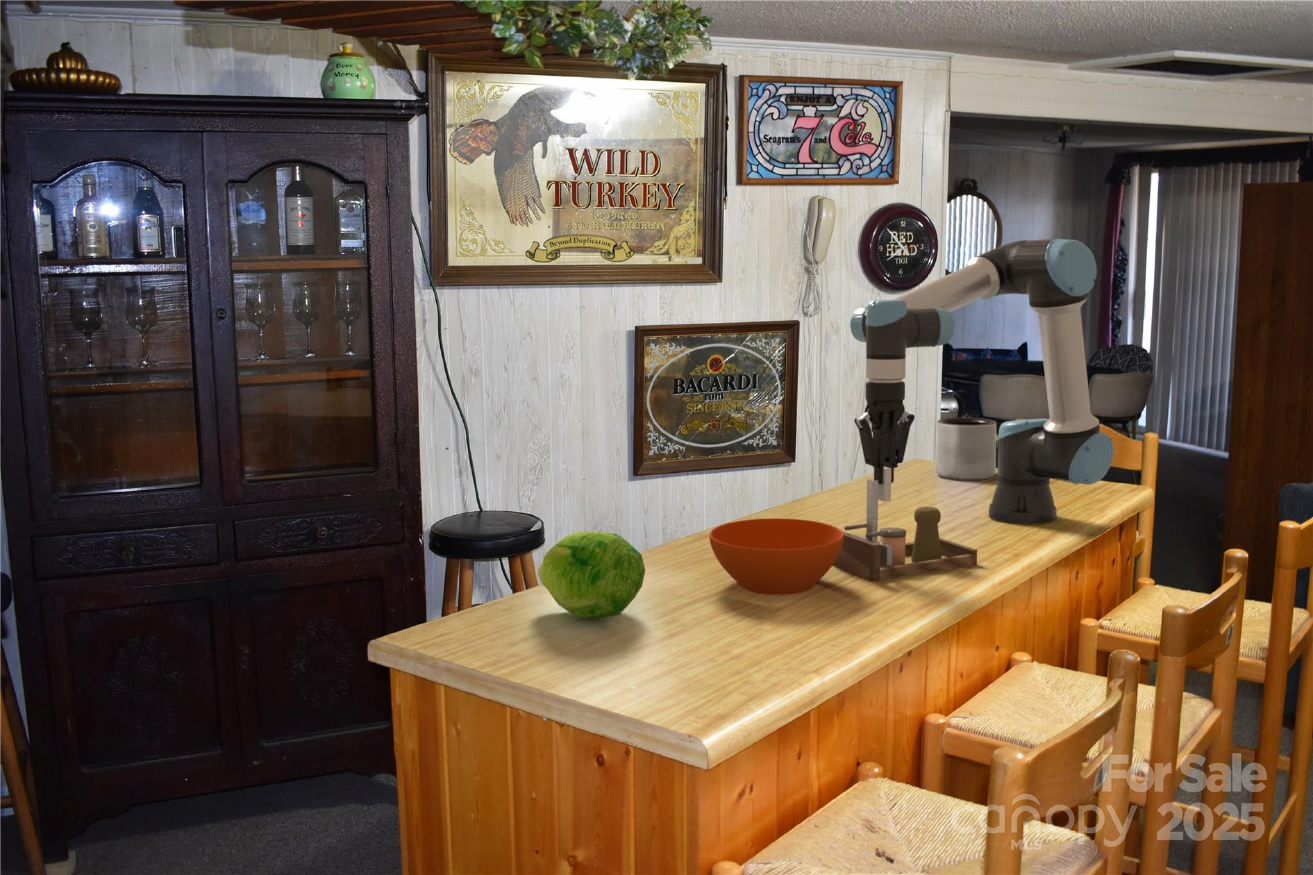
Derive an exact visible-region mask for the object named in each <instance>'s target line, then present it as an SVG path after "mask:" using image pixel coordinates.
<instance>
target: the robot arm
mask: <svg viewBox="0 0 1313 875" xmlns="http://www.w3.org/2000/svg"><path fill="white" fill-rule="evenodd" d="M1097 269H1098V268H1097V262H1096V259H1095V257H1094V254H1093V253H1092V251H1091V249H1090V248H1089V247H1088V246H1087V245H1085V244H1084V242H1082V241H1079V240H1077V239H1066V238H1048V239H1047V238H1046V239H1033V240H1032V239H1031V240H1030V239H1029V240H1026V239H1025V240H1024V239H1023V240H1017V241H1016V240H1015V241H1013V242H1009V243H1005V244H1003V245H1000V246H997V247H995V248H993V249H990V250H987V251H986V252H984V253H982V254H980V255H977V256H975V257H973V258H971V259H970V260H968V262H967V263H966V265H965V266H964V267H961V268H960V269H957V270H955V271H954V272H951V273H949V274H947V275H944V276H941V277H940V278H938V279H935V280H933V281H931V282H929V283H926V284H924V285H922V286H921V287H917V288H915V289H913V290H911V291H908V292H906V293H905V294H902V295H900V296H898V297H895V298H893V299H873V300H870V301H869V302H868V304H867V306H861V307H859V308H857V309H856V310H854V312H853V313H852V314H851V317H850V322H849V327H850V332H851V334H852V336H853V338H854V339H855V340H856V341H857V342H861V343H865V346H866V347H865V352H866V353H865V354H866V355H865V357H866V358H865V378H866V379H867V381H866V382H865V389H864V390H865V394H864V395H865V400H866V406H865V408H864V413H863V414H862V415H861V416H860V417H858V416H857V417H855V418H854V419H853V422H854V423H855V425H856V428H857V429H858V434H859V438H860V443H861V444H860V445H861V449H862V454H863V459H864V463H865V464H866V465H869V466H871V467H873V479H874V480H878V501H881V502H883V503H885V502H886V503H887V502H891V501H892V484H894V480H895V478H894V477H895V469H896V468H898V466H899V464H902V463H903V462H904V459H905V458H904V457H905V454H906V450H907V449H906V448H907V446H908V445H907V444H908V439H909V435H910V430H911V426H912V424H913V422H914V421H915V418H916V417H915V415H914V414H912V413H909V412H907V411H906V407H905V405H904V400H905V398H906V383H905V381H904V380H903V379H905V378H906V362H907V361H906V359H907V358H906V357H907V349H909V348H910V349H911V348H927V347H930V348H931V347H932V348H935V347H940V346H943V345H946V344H948V343H949V342H950V341H951V339H952V338H953V335H954V332H955V321H954V317H953V316H952V314H951V312H953V311H956V310H957V309H959V308H962V307H965V306H967V305H969V304H971V303H973V302H975V301H977V300H979V299H981V300H990V299H992V298H994V297H997V296H1001V295H1028V301H1029V302H1028V304H1029V307H1030V309H1032V310H1033V311H1035V312H1036V313H1037V316H1038V326H1039V334H1040V335H1039V336H1040V343H1041V353H1042V360H1043V370H1044V377H1045V378H1044V379H1045V380H1044V381H1045V388H1046V396H1047V407H1048V414H1049V418H1030V419H1017V420H1016V419H1015V420H1009V421H1008V420H1007V421H1004V422H1002V423H1001V424H1000V426H999V429H998V430H999V431H998V438H997V480H996V481H997V482H996V488H995V491H994V493H993V496H992V500H991V503H989V506H988V517H989V518H990V519H992V520H995V521H999V522H1002V523H1009V524H1018V525H1041V524H1042V525H1043V524H1049V523H1053V522H1055V521H1057V517H1058V515H1057V512H1058V510H1057V507H1056V506H1055V501H1054V496H1053V493H1052V490H1051V484H1050V482H1051V481H1050V480H1051V479H1052V480H1056V481H1061V482H1066V483H1071V484H1073V485H1079V484H1081V485H1085V486H1086V485H1087V486H1088V485H1093V484H1094V485H1095V484H1096V483H1098V482H1099V481H1100V480H1102V479H1103V478H1104V477H1105V476H1106V474H1107V473H1108V471H1109V470H1110V468H1111V465H1112V463H1113V458H1114V454H1115V453H1114V452H1115V447H1114V443H1113V440H1112V438H1111V437H1110V436H1109V435H1108V434H1106V433H1104V432H1101V426H1100V420H1099V418H1098V417H1096V416H1094V415H1093V414H1092V411H1091V402H1090V401H1091V400H1090V392H1089V382H1088V381H1089V380H1088V371H1087V364H1086V363H1087V362H1086V354H1085V353H1086V352H1085V341H1084V333H1083V324H1082V323H1083V322H1082V314H1081V308H1082V306H1083V304H1084V303H1086V302H1087V300H1088V297H1087V295H1088V293H1089V292H1090V291H1091V290H1092V289H1093V287H1094V285H1095V280H1097V272H1098V270H1097ZM870 425H871V426H870Z"/></svg>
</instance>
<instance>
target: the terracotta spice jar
mask: <svg viewBox="0 0 1313 875" xmlns="http://www.w3.org/2000/svg"><path fill="white" fill-rule="evenodd" d="M878 530H879V531H878V532H881V531H889V535H883V536H879V542H882V543H885V544H888V545H891V546H892V566H897V565H903V564H906V555H905V543H906V540H907V538H906V536H907V530H906V529H905V528H903V527H893V526H892V527H883V528H880V529H878Z"/></svg>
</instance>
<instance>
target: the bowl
mask: <svg viewBox="0 0 1313 875" xmlns="http://www.w3.org/2000/svg"><path fill="white" fill-rule="evenodd" d="M842 531H843V530H841V528H838V527H837V526H835V525H831V524H828V523H824V522H821V521H815V520H807V519H799V518H798V519H797V518H754V519H744V520H737V521H732V522H727V523H724V524H721V525H719V526H716V527H714V528H713V529H711V531H710V533H709V537H708V538H709V544H710V547H711V550H712V551H713V554H714V556H715V558H716V559H717V561H718V563H719V564H720V565H721V567H722V568H723V569H724V570H725V572H726V573H727V574H728V575H729V576H730V577H731V578H732V579H733V580H734V581H735V582H736V583H737V584H738V585H739V587H741V588H742V589H743V590H745V591H748V592H751V593H754V594H755V593H756V594H760V595H767V596H769V595H772V596H785V595H795V594H800V593H803V592H808V591H810V590H811V589H812V588H814V586H815V585H816V584H817V583H818V582H819V581H820V580H821V579H822V578H824V576H825V575H826V574H827V573H828V572H829V570H830V569H832V567H833V566H834V565H833V564H834V563H835V561H836V560H837V558H838V556H839V554H840V552H841V549H842V546H843V542H844V534H843V532H844V531H843V532H842Z"/></svg>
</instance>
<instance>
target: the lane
mask: <svg viewBox="0 0 1313 875" xmlns="http://www.w3.org/2000/svg"><path fill="white" fill-rule="evenodd" d="M866 527H867V523H861V524H851V525H846V526H844V527H843V528H844V530H841V531H842V532H843V534H844V542H843V546H842V549H841V552H840V554H839V556H838V558H837V560H836V561H835V563H834V564H833V566H834V567H837V568H839V569H841V570H844V571H847V572H849V573H852V574H854V575H857V576H859V577H862V578H864V579H867V580H869V581H871V582H878V581H885V580H891V579H896V578H903V577H908V576H915V575H921V574H927V573H935V572H938V571H945V570H950V569H951V570H952V569H958V568H964V567H969V566H976V565H978V549H976V548H972V547H970V546H966V545H963V544H961V543H957V542H953V541H950V540H947V539H945V538H941V537H939V540H940V548H941V556H944V557H942V558H941V559H935V560H928V561H922V562H916V563H914V562H911V563H905V564H903V565H897V566H890V567H884V568H880V544H877V543H874V542H872V541H869V540H866V539H863V538H860V537H857V536H855V535H853V534H851V533H848V532H846V531H852V530H859V529H865V528H866ZM883 535H889V531H881V532H879V531H878V532H874V533H867V534H866V533H865V535H864V536H865V537H866V538H869V537H876V536H878V537H880V536H883ZM913 546H914V541H912V542H911V541H910V542H905V556H906V555H912V552H913Z"/></svg>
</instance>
